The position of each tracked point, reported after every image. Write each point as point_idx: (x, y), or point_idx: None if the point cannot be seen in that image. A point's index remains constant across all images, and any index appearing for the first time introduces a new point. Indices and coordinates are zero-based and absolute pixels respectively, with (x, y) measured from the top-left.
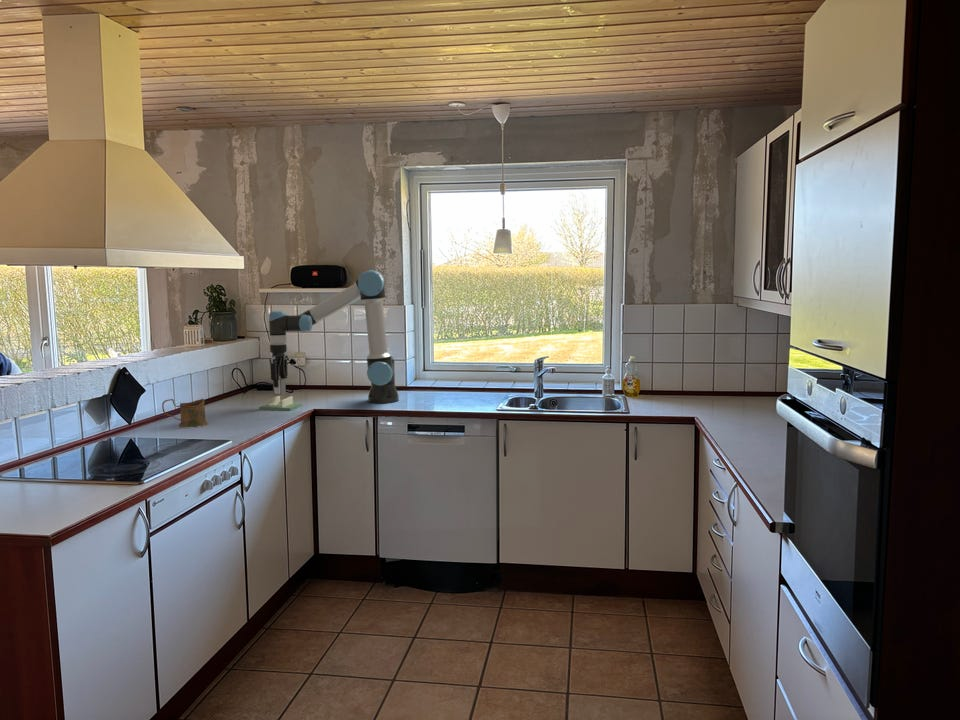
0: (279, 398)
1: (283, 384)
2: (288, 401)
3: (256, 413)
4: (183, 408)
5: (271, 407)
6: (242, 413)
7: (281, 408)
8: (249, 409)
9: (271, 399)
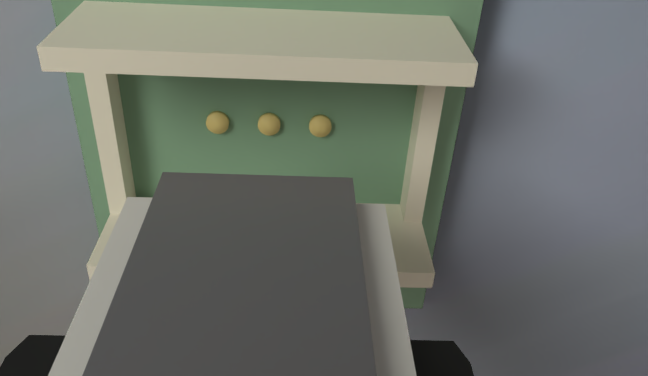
0: None
1: (222, 321)
2: (231, 29)
3: (643, 225)
4: None
5: (447, 172)
6: (620, 339)
7: (479, 16)
8: None
9: None
